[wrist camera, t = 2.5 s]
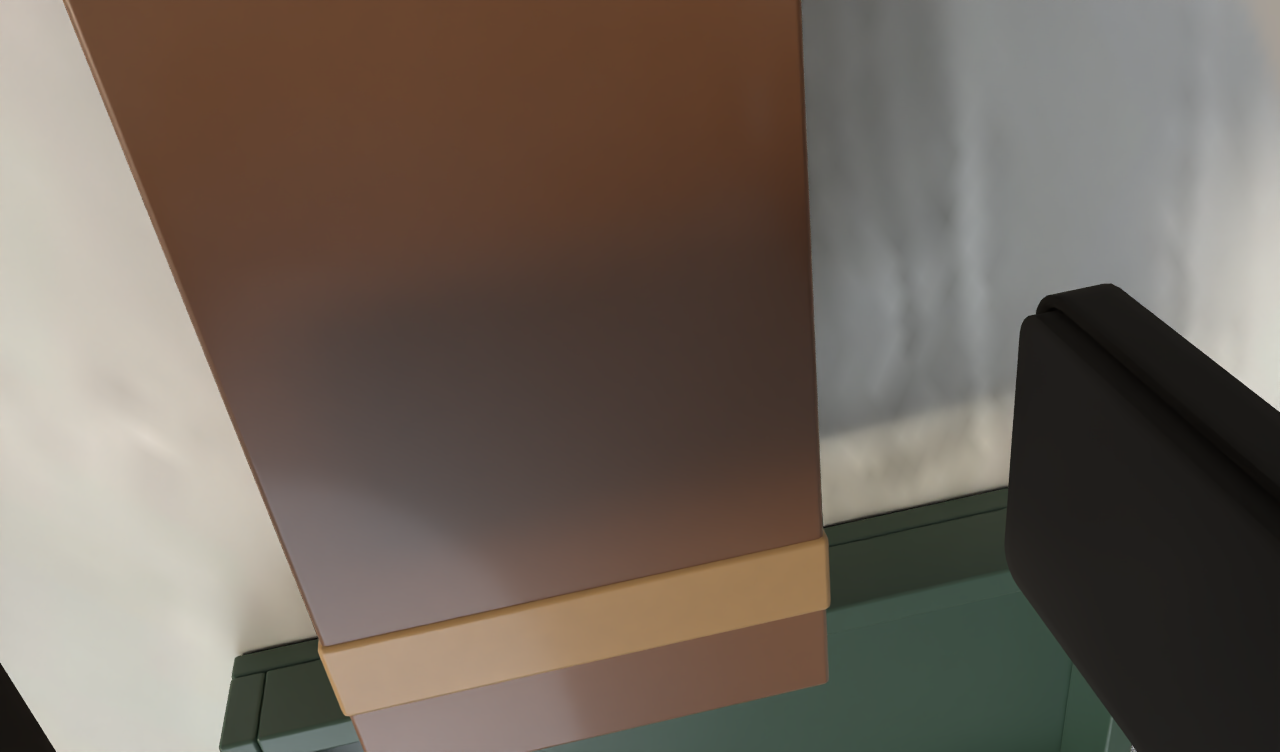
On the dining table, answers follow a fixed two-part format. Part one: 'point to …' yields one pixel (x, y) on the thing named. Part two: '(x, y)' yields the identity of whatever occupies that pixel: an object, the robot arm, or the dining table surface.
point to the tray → (857, 657)
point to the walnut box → (503, 339)
